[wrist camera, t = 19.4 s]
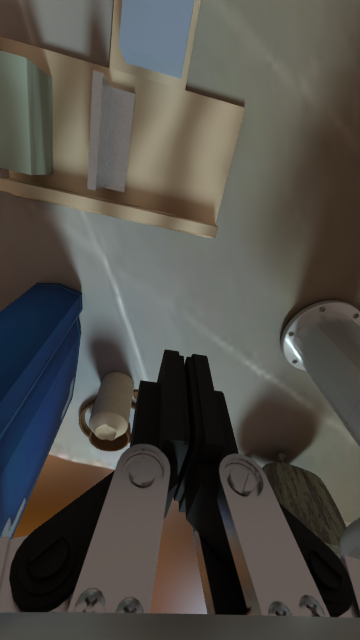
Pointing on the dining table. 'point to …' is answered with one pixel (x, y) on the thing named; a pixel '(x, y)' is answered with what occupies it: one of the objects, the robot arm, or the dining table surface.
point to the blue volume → (34, 387)
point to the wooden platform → (146, 139)
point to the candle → (112, 406)
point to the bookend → (109, 135)
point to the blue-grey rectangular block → (156, 34)
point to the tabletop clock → (306, 500)
